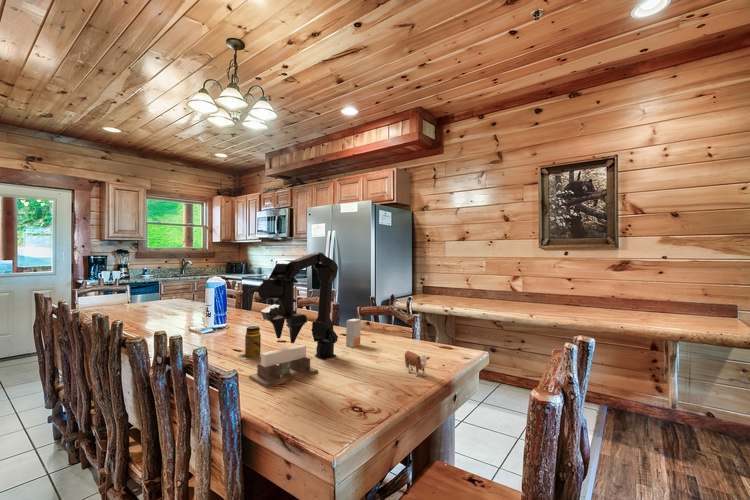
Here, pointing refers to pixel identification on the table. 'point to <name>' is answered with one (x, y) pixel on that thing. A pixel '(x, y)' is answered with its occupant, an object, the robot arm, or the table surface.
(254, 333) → the condiment
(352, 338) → the skincare box
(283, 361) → the frame bar
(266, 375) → the display stand
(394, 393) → the table surface
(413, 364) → the bull figurine
